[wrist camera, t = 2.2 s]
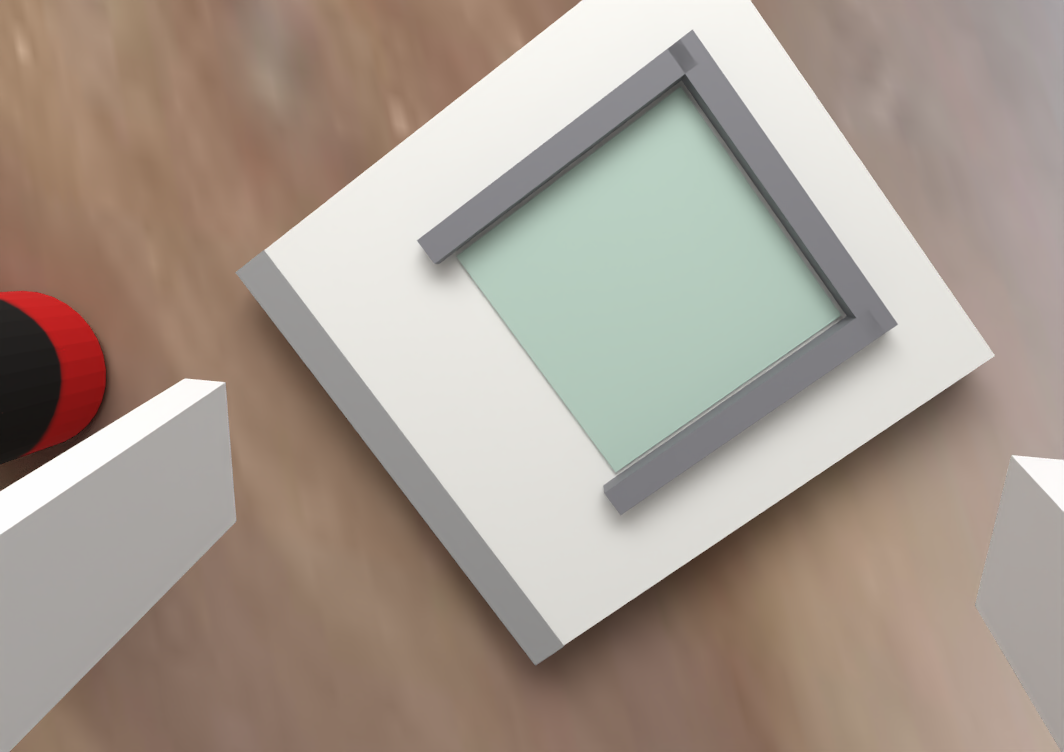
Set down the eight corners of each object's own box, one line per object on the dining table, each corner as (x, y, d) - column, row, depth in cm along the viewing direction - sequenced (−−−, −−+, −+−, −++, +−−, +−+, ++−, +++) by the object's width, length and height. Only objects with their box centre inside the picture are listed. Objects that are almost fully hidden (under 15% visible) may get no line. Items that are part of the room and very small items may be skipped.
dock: (538, 636, 42) (533, 678, 38) (261, 271, 41) (224, 272, 36) (963, 348, 39) (1010, 359, 35) (682, -59, 38) (695, -99, 33)
